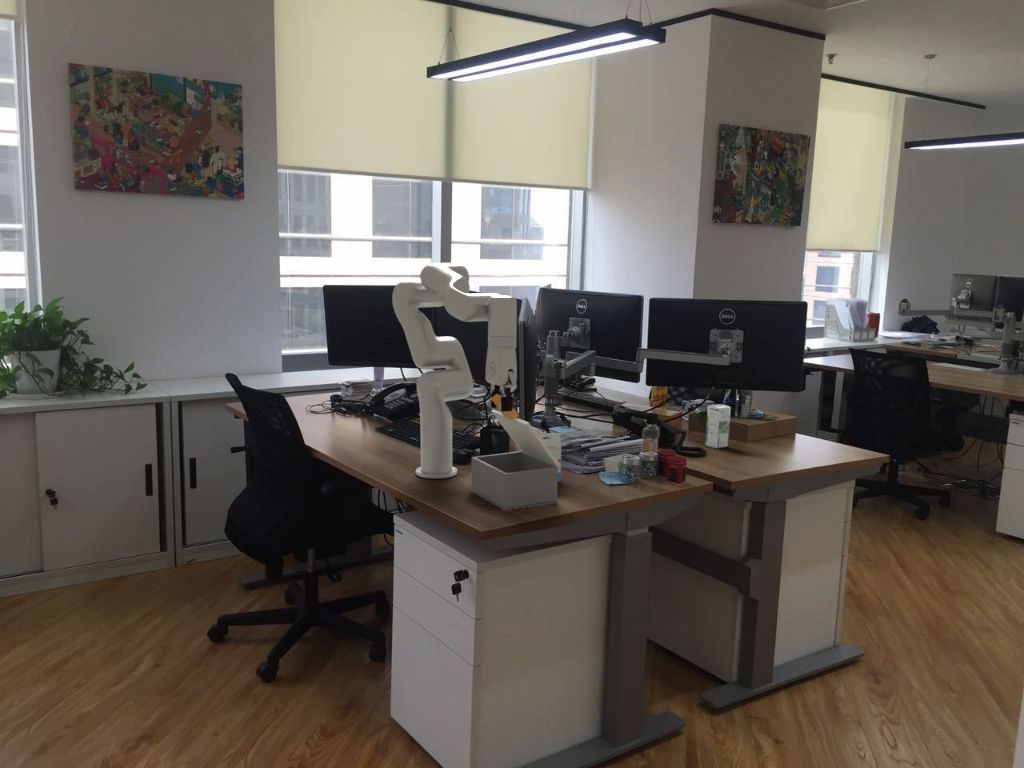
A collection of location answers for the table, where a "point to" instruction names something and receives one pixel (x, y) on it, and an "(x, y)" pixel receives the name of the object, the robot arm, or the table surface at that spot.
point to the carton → (514, 480)
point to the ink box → (553, 448)
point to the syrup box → (718, 426)
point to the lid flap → (522, 433)
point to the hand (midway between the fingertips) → (501, 408)
